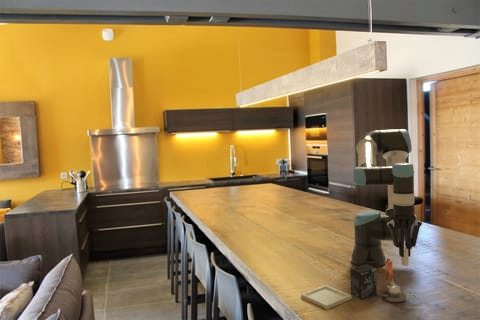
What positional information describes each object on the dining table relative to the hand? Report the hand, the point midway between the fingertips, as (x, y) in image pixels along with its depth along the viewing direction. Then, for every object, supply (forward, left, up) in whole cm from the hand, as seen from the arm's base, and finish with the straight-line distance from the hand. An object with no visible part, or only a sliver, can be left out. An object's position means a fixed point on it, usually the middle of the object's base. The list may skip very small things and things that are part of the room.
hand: (405, 264), depth 154 cm
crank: (0, -8, -8) cm, 11 cm away
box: (-6, -17, -10) cm, 20 cm away
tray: (-13, -29, -9) cm, 33 cm away
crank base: (+3, -11, -9) cm, 15 cm away
